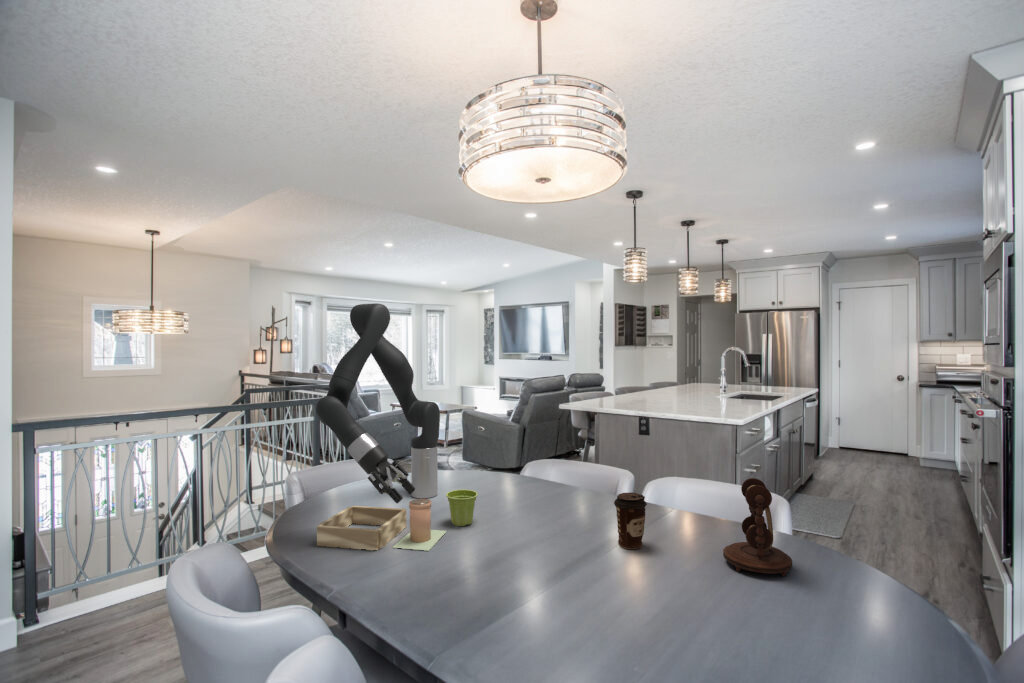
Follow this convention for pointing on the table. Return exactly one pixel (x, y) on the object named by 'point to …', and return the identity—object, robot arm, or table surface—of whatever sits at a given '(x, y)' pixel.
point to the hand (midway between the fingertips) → (406, 496)
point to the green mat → (425, 546)
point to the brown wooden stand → (757, 535)
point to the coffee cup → (630, 519)
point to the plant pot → (461, 506)
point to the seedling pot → (420, 520)
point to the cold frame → (342, 536)
